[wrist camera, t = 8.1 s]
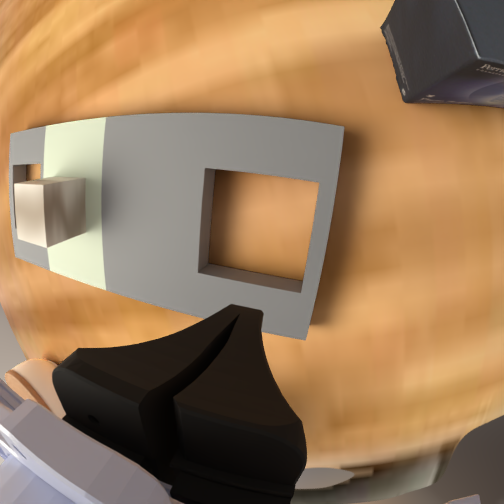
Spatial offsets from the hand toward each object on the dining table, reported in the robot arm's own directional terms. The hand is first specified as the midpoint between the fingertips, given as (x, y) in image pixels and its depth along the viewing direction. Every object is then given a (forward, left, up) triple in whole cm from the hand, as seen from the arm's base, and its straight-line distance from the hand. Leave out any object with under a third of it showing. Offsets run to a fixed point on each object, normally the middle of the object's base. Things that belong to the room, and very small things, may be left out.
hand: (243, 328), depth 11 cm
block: (+2, +18, -7) cm, 19 cm away
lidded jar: (-25, +29, -10) cm, 39 cm away
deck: (+2, +13, -9) cm, 16 cm away
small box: (+16, -11, -10) cm, 22 cm away
